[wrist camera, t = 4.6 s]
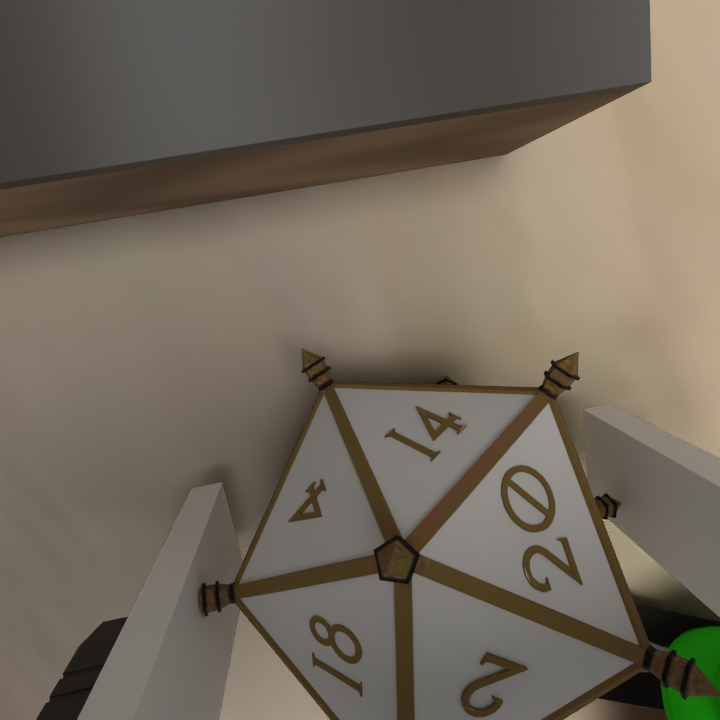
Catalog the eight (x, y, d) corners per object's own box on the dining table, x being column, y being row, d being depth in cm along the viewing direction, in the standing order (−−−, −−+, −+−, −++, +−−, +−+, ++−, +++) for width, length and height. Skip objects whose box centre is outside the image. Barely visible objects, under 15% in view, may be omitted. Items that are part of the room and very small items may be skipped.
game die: (332, 395, 17) (160, 242, 8) (590, 404, 15) (762, 210, 6) (298, 683, 14) (-25, 954, 5) (609, 745, 12) (987, 1396, 3)
